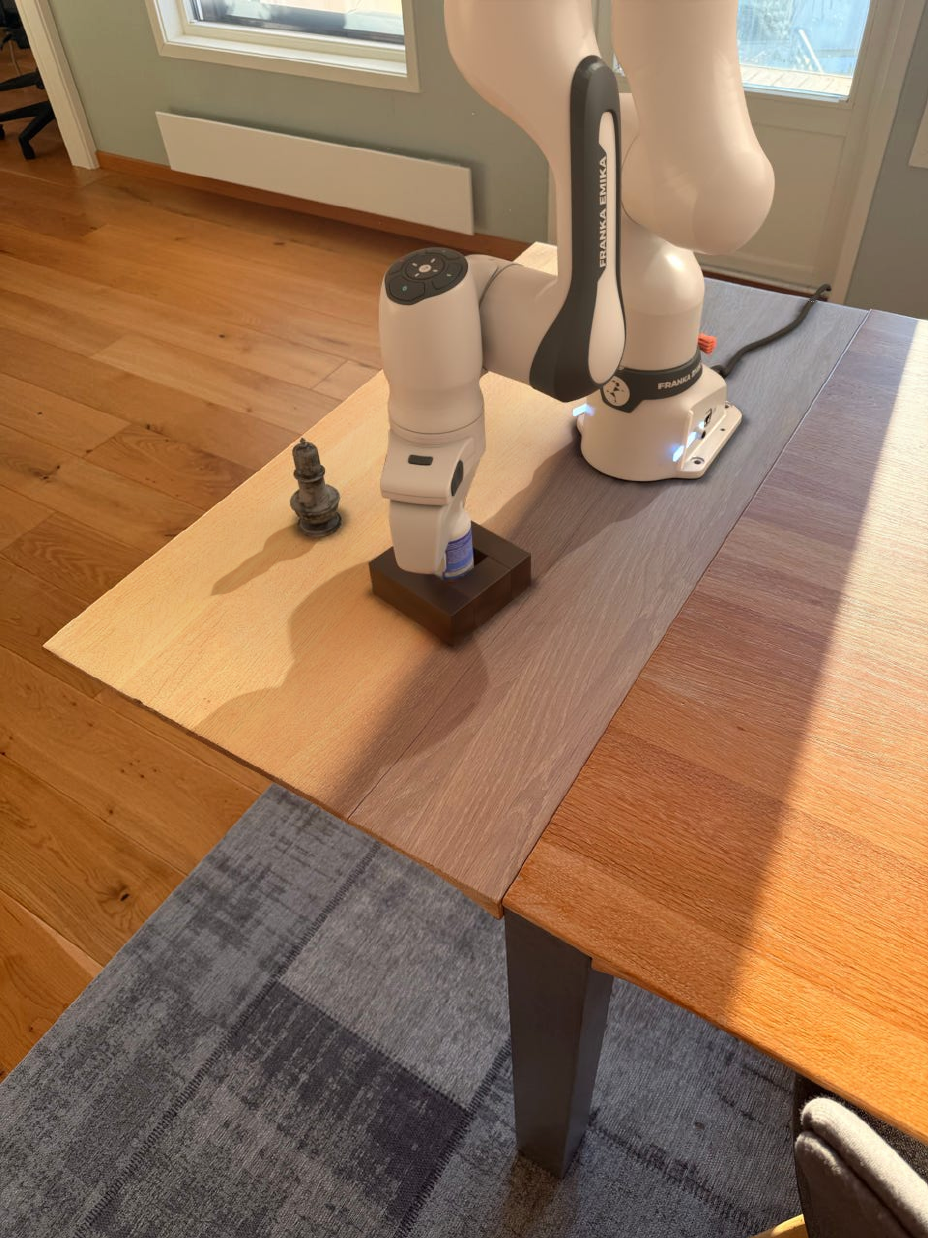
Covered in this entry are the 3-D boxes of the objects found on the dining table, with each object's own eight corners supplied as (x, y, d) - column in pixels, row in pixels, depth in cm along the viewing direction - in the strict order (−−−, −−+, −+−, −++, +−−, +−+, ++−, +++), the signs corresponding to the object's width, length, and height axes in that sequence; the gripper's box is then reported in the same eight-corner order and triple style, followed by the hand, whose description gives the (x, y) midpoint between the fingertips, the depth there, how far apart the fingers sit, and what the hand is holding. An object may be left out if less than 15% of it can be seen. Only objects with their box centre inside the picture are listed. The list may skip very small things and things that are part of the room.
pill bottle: (480, 560, 98) (477, 487, 91) (464, 593, 94) (459, 520, 87) (433, 551, 99) (427, 478, 92) (415, 583, 96) (407, 510, 89)
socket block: (450, 537, 105) (448, 507, 101) (531, 584, 98) (531, 553, 95) (373, 593, 99) (367, 562, 96) (453, 647, 93) (450, 616, 89)
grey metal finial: (336, 540, 105) (319, 455, 97) (288, 536, 106) (267, 451, 98) (350, 509, 109) (335, 424, 101) (304, 505, 110) (285, 420, 102)
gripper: (434, 373, 92) (442, 483, 102) (373, 495, 78) (389, 609, 88) (495, 378, 91) (497, 489, 101) (443, 503, 77) (452, 618, 87)
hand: (446, 546), depth 94 cm, fingers closed on pill bottle, 5 cm apart
